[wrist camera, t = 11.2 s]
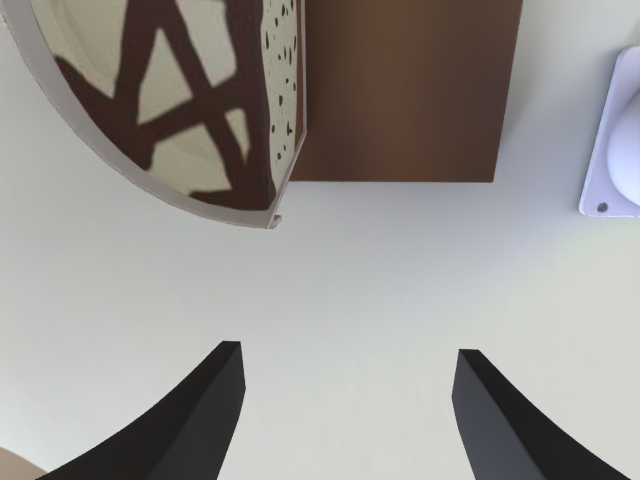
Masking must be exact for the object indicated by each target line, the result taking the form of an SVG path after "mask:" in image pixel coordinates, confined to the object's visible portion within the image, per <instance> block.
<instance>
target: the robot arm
mask: <svg viewBox="0 0 640 480" xmlns="http://www.w3.org/2000/svg"><path fill="white" fill-rule="evenodd" d="M639 60H640V45H631V46H627V47H625V48H624V49H623V50H622V51H621V52H620V53H619V55H618V57H617V61H616V65H615V69H614V72H613V76H612V80H611V84H610V88H609V92H608V95H607V99H606V103H605V107H604V111H603V114H602V118H601V122H600V126H599V130H598V134H597V137H596V141H595V145H594V149H593V153H592V157H591V160H590V164H589V168H588V172H587V176H586V180H585V183H584V187H583V191H582V195H581V199H580V203H579V211H580V212H581V213H583V214H584V215H586V216H607V217H640V61H639ZM601 203H604V205H603V207H602V208H601V209H599V210H597V207H598V205H599V204H601ZM245 390H246V386H245V378H244V369H243V360H242V351H241V342H240V341H222V342H221V343H220V344H219V345H218V346H217V347H216V348H215V349H214V350H213V351H212V352H211V353H210V354H209V355H208V356H207V357H206V358H205V359H204V360H203V361H202V362H201V363H200V364H199V365H198V366H197V367H196V368H195V369H194V370H193V371H192V372H191V373H190V374H189V375H188V376H187V377H186V378H185V379H183V380H182V381H181V382H180V383H179V384H178V385H177V386H176V387H175V388H174V389H173V390H171V391H170V392H169V393H168V394H167V395H166V396H165V397H163V398H162V399H161V400H160V401H159V402H158V403H157V404H155V405H154V406H153V407H152V408H150V409H149V410H148V411H147V412H145V413H144V414H143V415H141V416H140V417H139V418H137V419H136V420H134V421H133V422H132V423H130V424H129V425H128V426H126V427H125V428H123V429H122V430H120V431H119V432H117V433H116V434H114V435H113V436H111V437H110V438H108V439H106V440H105V441H103V442H102V443H100V444H99V445H97V446H96V447H94V448H92V449H91V450H89V451H87V452H86V453H84V454H82V455H81V456H79V457H77V458H75V459H74V460H72V461H70V462H68V463H66V464H64V465H63V466H61V467H59V468H57V469H55V470H53V471H51V472H50V473H48V474H46V475H44V476H42V477H39V478H38V479H35V480H217V477H218V475H219V472H220V469H221V467H222V464H223V461H224V458H225V456H226V453H227V450H228V447H229V445H230V442H231V439H232V436H233V433H234V431H235V428H236V425H237V422H238V419H239V416H240V412H241V407H242V403H243V399H244V394H245ZM452 402H453V407H454V412H455V417H456V421H457V426H458V429H459V432H460V435H461V438H462V441H463V444H464V447H465V450H466V453H467V456H468V459H469V462H470V465H471V468H472V470H473V473H474V476H475V479H476V480H631V479H629V478H628V477H626V476H625V475H623V474H622V473H620V472H619V471H617V470H616V469H614V468H613V467H611V466H610V465H608V464H607V463H606V462H604V461H603V460H601V459H600V458H598V457H597V456H596V455H594V454H593V453H591V452H590V451H589V450H587V449H586V448H585V447H584V446H582V445H581V444H580V443H578V442H577V441H576V440H574V439H573V438H572V437H571V436H569V435H568V434H567V433H565V432H564V431H563V430H562V429H561V428H559V427H558V426H557V425H556V424H555V423H553V422H552V421H551V420H550V419H549V418H548V417H547V416H545V415H544V414H543V413H542V412H541V411H540V410H539V409H538V408H536V407H535V406H534V405H533V404H532V403H531V402H530V401H529V400H528V399H527V398H526V397H525V396H524V395H523V394H522V393H521V392H519V391H518V390H517V389H516V388H515V387H514V386H513V385H512V384H511V383H510V382H509V381H508V380H507V379H506V378H505V377H504V376H503V375H502V373H501V372H500V371H499V370H498V369H497V368H496V367H495V366H494V365H493V364H492V363H491V362H490V361H489V360H488V359H487V358H486V357H485V356H484V355H483V354H482V353H481V352H480V351H479V350H473V349H459V353H458V360H457V366H456V372H455V379H454V385H453V391H452Z"/></svg>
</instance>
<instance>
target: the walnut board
mask: <svg viewBox="0 0 640 480" xmlns="http://www.w3.org/2000/svg"><path fill="white" fill-rule="evenodd" d="M522 5H523V0H305V55H306V116H307V134H306V137H305V139H304V142H303V144H302V147H301V150H300V152H299V155H298V157H297V160H296V162H295V165H294V167H293V170H292V173H291V175H290V178H289V180H288V181H315V182H483V183H492V182H493V179H494V173H495V167H496V161H497V155H498V149H499V143H500V137H501V131H502V125H503V119H504V113H505V107H506V101H507V95H508V89H509V83H510V77H511V71H512V65H513V59H514V53H515V47H516V41H517V35H518V29H519V23H520V17H521V11H522Z"/></svg>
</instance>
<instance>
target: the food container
mask: <svg viewBox="0 0 640 480" xmlns="http://www.w3.org/2000/svg"><path fill="white" fill-rule="evenodd" d="M0 10H1V13H2V15H3V18H4V21H5V23H6V25H7V27H8V29H9V31H10V33H11V35H12V37H13V39H14V41H15V43H16V45H17V47H18V49H19V52H20V54H21V56H22V58H23V60H24V62H25V64H26V65H27V67H28V68H29V70H30V71H31V73H32V75H33V76H34V78H35V79H36V81H37V82H38V84H39V86H40V87H41V89H42V90H43V92H44V93H45V95H46V97H47V98H48V100H49V101H50V103H51V104H52V105H53V106H54V107H55V109H56V110H57V111H58V112H59V114H60V115H61V116H62V117H63V118H64V120H65V121H66V122H67V123H68V125H69V126H70V127H71V128H72V130H73V131H74V132H75V133H76V134H77V135H78V136H79V137H80V138H81V139H82V140H83V141H84V142H85V143H86V144H87V145H88V146H89V147H90V148H91V149H92V150H93V151H94V152H95V153H96V154H97V155H98V156H99V157H100V158H101V159H102V160H103V161H105V162H106V163H107V164H108V165H109V166H111V167H112V168H113V169H115V170H116V171H117V172H119V173H120V174H121V175H123V176H124V177H125V178H127V179H128V180H130V181H131V182H132V183H134V184H135V185H136V186H138V187H140V188H141V189H143V190H145V191H147V192H148V193H150V194H152V195H154V196H155V197H157V198H159V199H161V200H163V201H164V202H166V203H168V204H170V205H172V206H175V207H177V208H180V209H182V210H185V211H187V212H190V213H193V214H195V215H198V216H200V217H203V218H207V219H211V220H215V221H219V222H223V223H227V224H231V225H235V226H243V227H253V228H263V229H274V228H275V227H276V226H277V225H278V224H279V223H280V222H281V221H282V216H279V215H275V213H276V211H277V208H278V206H279V203H280V201H281V198H282V195H283V193H284V190H285V188H286V185H287V183H288V180H289V178H290V175H291V173H292V170H293V167H294V165H295V162H296V160H297V157H298V155H299V152H300V150H301V147H302V144H303V142H304V139H305V137H306V134H307V116H306V55H305V0H0Z"/></svg>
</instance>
